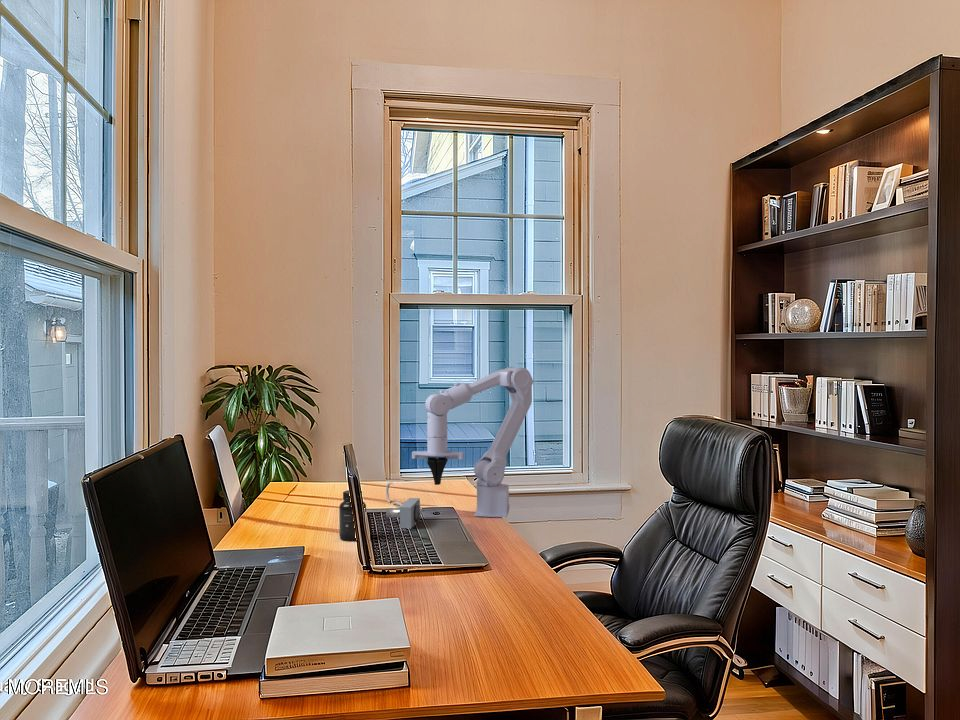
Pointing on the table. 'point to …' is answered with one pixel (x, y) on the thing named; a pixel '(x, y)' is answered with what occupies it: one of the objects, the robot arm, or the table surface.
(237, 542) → the table surface
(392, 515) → the pin
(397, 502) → the hook
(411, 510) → the hitch block
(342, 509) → the supplement bottle
